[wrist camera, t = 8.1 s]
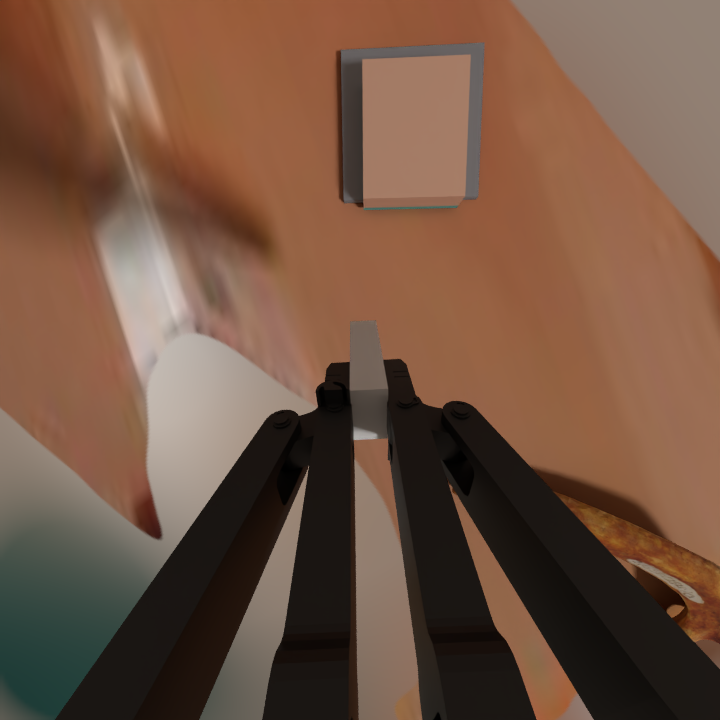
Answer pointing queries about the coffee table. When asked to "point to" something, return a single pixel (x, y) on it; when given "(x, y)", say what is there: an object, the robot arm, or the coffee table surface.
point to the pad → (354, 110)
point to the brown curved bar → (661, 566)
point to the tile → (415, 131)
